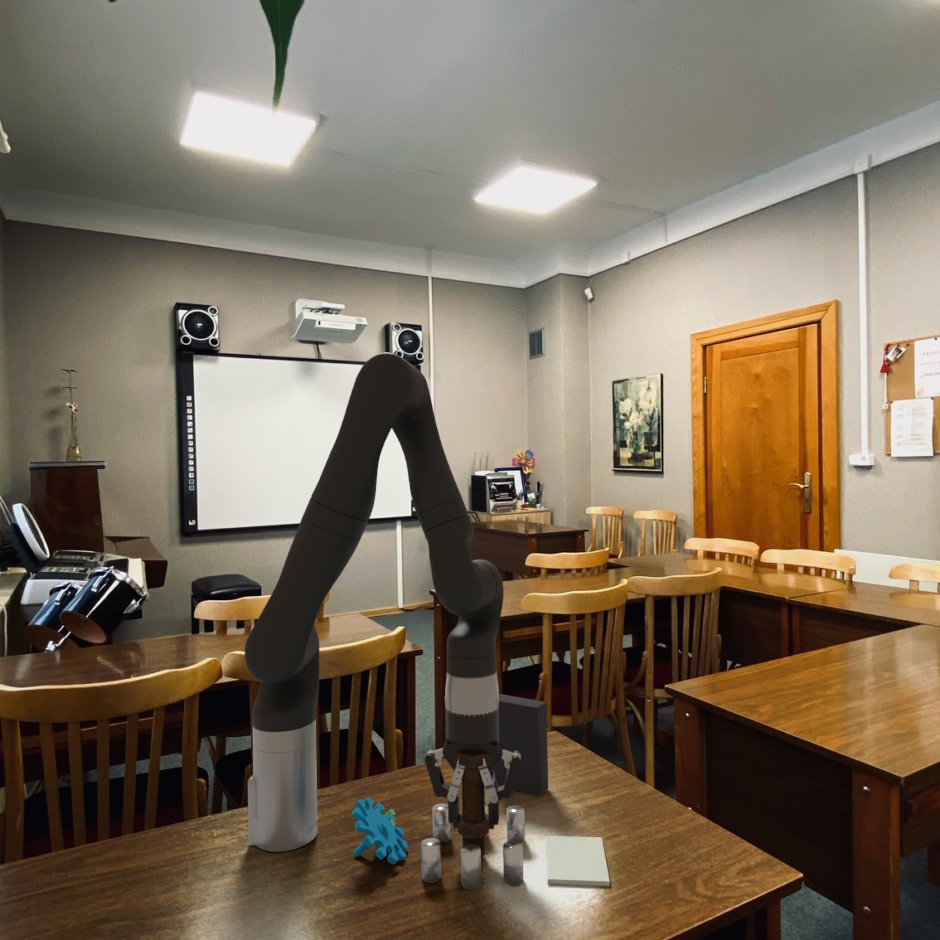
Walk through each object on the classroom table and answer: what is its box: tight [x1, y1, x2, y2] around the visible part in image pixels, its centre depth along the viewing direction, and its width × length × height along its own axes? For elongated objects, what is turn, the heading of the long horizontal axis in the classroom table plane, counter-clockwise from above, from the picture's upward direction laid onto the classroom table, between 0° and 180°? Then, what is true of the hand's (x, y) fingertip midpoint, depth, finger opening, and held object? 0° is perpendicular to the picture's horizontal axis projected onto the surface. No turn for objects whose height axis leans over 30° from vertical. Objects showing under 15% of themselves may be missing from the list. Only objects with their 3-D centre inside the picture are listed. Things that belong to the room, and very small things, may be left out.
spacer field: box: [420, 801, 526, 891], centre depth 96 cm, size 14×15×4 cm
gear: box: [351, 797, 409, 865], centre depth 98 cm, size 11×6×10 cm
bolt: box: [454, 752, 491, 859], centre depth 96 cm, size 6×5×15 cm
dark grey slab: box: [493, 693, 549, 797], centre depth 119 cm, size 11×4×15 cm, turn 58°
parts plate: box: [546, 835, 611, 887], centre depth 95 cm, size 8×11×1 cm
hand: (473, 825), depth 96 cm, fingers closed on bolt, 4 cm apart
